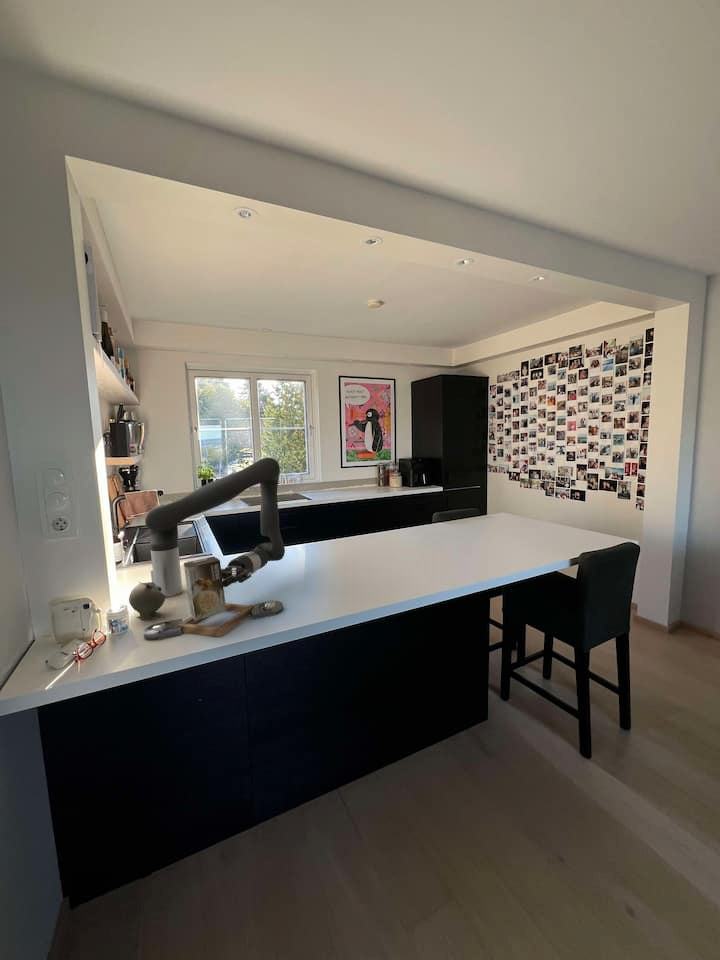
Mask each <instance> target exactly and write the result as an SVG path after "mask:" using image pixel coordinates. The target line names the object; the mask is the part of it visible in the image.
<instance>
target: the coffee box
mask: <svg viewBox="0 0 720 960" xmlns="http://www.w3.org/2000/svg"><path fill="white" fill-rule="evenodd" d="M221 565H222V564H221V559H219V558H218V557H216V556H209V557H204V558H200V559H197V560H192V561H188V562H184V563H183V568H184V575H185V576H184V577H185V581H186V590H187V598H188V606H189V614H190V617H191V616H192V617H193V618H194V619H195V621H196V620H199V619H202V620H203V618H204V619H205V618H209V617H212V616H216V615H217V614H221V613H224V612H227V611H226V605H225V603H226V598H225V591H224V587H223V580H222V572H221V569H222V566H221Z"/></svg>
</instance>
